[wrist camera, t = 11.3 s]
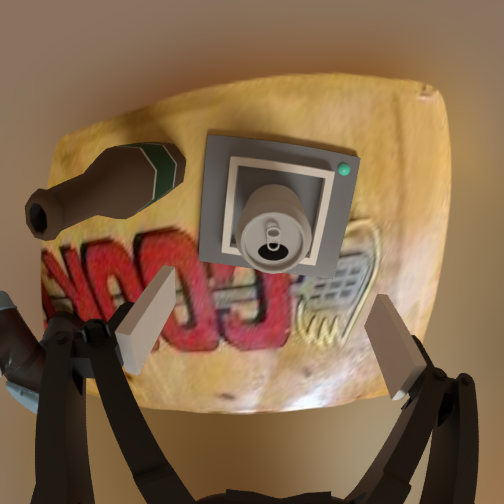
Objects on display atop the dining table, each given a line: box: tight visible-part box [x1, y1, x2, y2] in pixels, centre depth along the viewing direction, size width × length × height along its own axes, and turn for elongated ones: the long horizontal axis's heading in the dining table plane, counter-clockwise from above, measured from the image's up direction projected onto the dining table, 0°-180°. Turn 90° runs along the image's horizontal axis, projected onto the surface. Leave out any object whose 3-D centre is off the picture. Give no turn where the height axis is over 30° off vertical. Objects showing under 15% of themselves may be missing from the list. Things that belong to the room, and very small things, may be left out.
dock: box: [199, 135, 360, 279], centre depth 36 cm, size 20×18×2 cm
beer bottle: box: [25, 142, 186, 241], centre depth 25 cm, size 8×8×24 cm
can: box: [235, 184, 312, 274], centre depth 30 cm, size 8×8×12 cm
